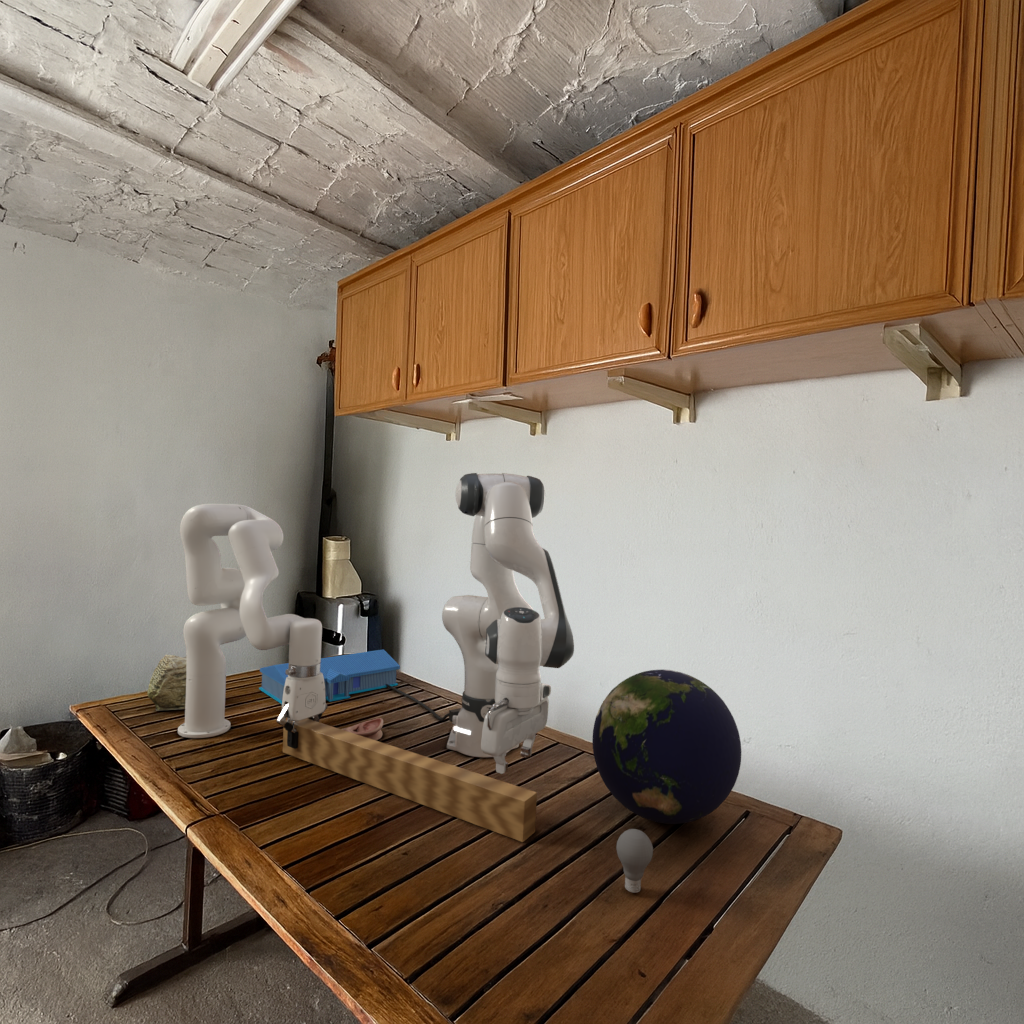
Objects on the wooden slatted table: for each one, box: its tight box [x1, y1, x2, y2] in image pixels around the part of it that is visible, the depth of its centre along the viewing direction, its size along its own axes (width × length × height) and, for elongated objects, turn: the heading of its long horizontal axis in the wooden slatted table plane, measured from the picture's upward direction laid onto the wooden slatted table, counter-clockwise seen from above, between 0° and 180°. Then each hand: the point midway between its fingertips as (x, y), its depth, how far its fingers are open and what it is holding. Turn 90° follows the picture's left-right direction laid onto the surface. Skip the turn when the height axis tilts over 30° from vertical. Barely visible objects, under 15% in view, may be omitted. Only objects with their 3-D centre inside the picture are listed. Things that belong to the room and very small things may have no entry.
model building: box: [258, 649, 401, 705], centre depth 208 cm, size 39×24×10 cm, turn 132°
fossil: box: [147, 654, 187, 712], centre depth 185 cm, size 9×18×15 cm, turn 132°
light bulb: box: [615, 828, 654, 894], centre depth 106 cm, size 6×6×10 cm
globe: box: [592, 668, 742, 825], centre depth 132 cm, size 30×30×30 cm
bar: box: [282, 718, 538, 843], centre depth 139 cm, size 69×5×8 cm, turn 58°
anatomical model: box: [340, 717, 384, 741], centre depth 167 cm, size 13×4×12 cm
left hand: (301, 742), depth 155 cm, fingers closed on bar, 4 cm apart
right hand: (514, 763), depth 123 cm, fingers open, 8 cm apart
